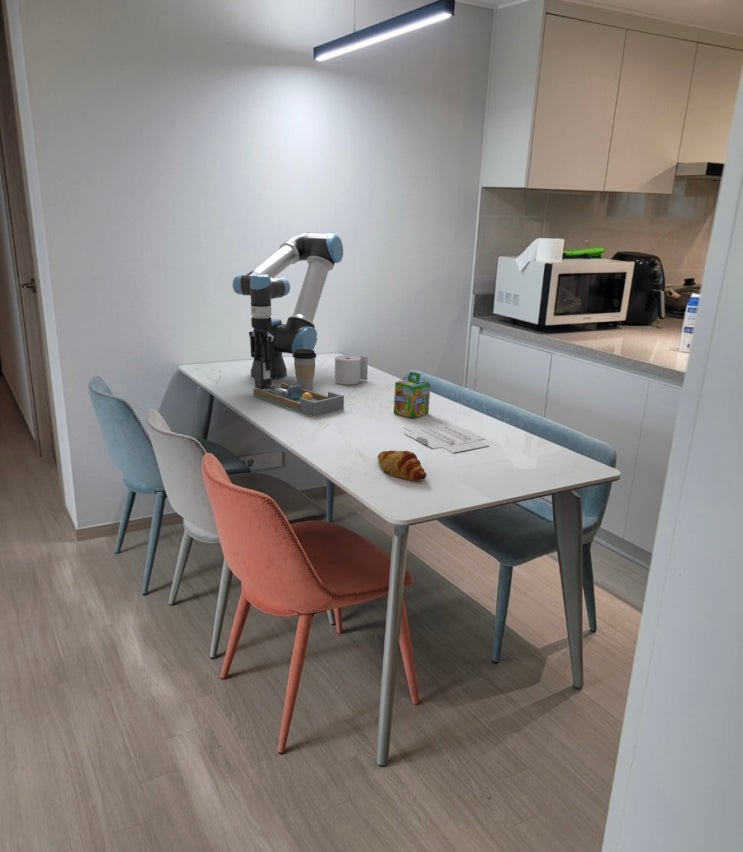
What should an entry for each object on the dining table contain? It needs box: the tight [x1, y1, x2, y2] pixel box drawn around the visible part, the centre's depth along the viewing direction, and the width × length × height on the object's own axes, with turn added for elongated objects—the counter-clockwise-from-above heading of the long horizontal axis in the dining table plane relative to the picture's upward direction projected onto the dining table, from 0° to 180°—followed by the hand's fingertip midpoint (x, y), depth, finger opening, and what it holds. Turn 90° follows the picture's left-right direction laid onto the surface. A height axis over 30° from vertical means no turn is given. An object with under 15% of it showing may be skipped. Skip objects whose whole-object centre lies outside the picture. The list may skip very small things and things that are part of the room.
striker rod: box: [253, 358, 302, 400], centre depth 267 cm, size 5×22×11 cm, turn 45°
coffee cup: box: [291, 349, 317, 391], centre depth 278 cm, size 9×9×15 cm
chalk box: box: [393, 371, 431, 420], centre depth 248 cm, size 9×9×15 cm
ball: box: [301, 392, 312, 401], centre depth 257 cm, size 4×4×4 cm
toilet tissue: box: [334, 354, 369, 386], centre depth 291 cm, size 11×12×10 cm
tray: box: [403, 421, 489, 454], centre depth 227 cm, size 20×28×4 cm
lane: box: [252, 382, 328, 413], centre depth 263 cm, size 14×28×4 cm, turn 45°
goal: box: [299, 391, 345, 417], centre depth 251 cm, size 14×8×5 cm, turn 135°
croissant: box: [377, 450, 427, 482], centre depth 197 cm, size 21×10×8 cm, turn 35°
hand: (263, 377), depth 273 cm, fingers closed on striker rod, 4 cm apart
